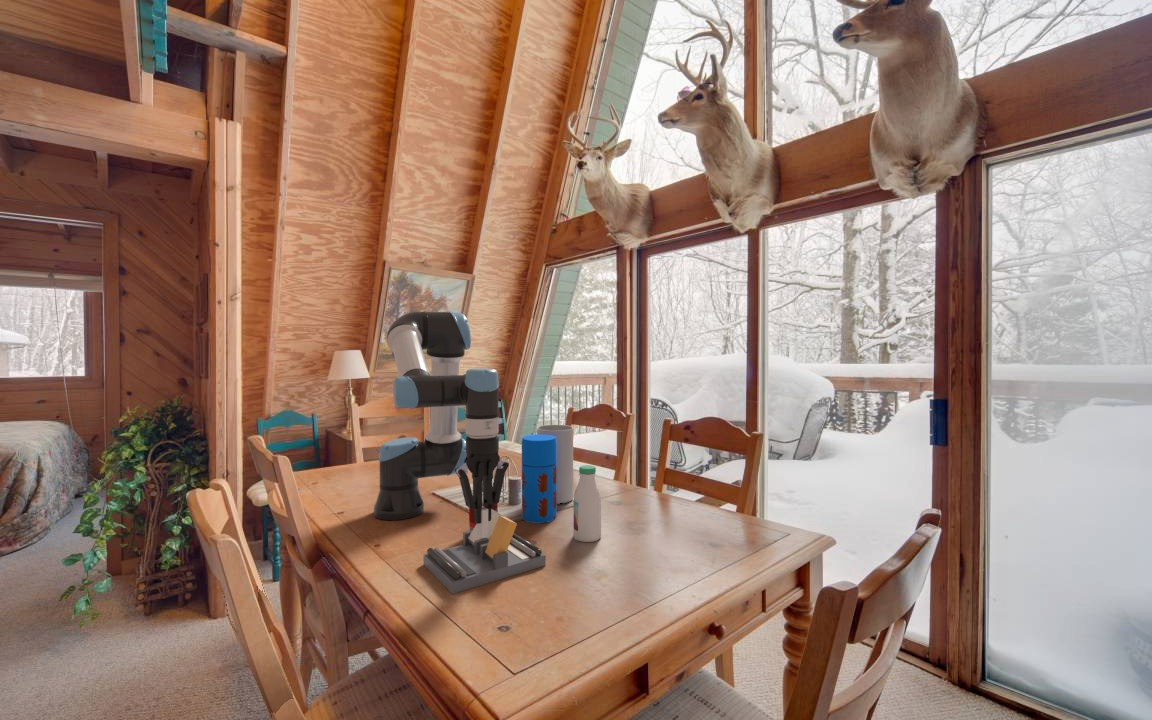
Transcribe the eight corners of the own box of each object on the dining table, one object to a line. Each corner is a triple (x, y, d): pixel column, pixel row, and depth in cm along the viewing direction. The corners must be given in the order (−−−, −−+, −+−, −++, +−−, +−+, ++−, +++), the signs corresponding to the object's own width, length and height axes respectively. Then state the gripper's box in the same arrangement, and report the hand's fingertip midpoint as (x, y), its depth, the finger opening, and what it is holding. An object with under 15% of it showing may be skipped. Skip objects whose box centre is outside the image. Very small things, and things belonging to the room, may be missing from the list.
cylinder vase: (541, 493, 184) (541, 424, 183) (575, 494, 182) (575, 425, 181) (533, 504, 171) (533, 430, 170) (570, 505, 170) (570, 431, 169)
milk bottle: (605, 535, 144) (605, 465, 143) (594, 544, 137) (594, 471, 136) (580, 530, 147) (580, 462, 147) (568, 540, 140) (568, 468, 140)
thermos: (561, 513, 162) (561, 435, 161) (549, 524, 152) (548, 441, 151) (530, 509, 166) (530, 433, 165) (516, 520, 155) (515, 439, 155)
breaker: (466, 540, 130) (487, 506, 133) (473, 544, 131) (494, 510, 134) (474, 547, 126) (496, 511, 129) (481, 551, 127) (503, 515, 130)
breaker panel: (423, 564, 125) (423, 541, 125) (509, 541, 139) (509, 521, 139) (452, 594, 110) (452, 568, 110) (545, 565, 124) (545, 542, 124)
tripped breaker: (483, 555, 122) (499, 515, 124) (491, 557, 123) (507, 517, 125) (493, 562, 118) (509, 521, 120) (501, 564, 119) (517, 523, 121)
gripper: (462, 441, 111) (463, 547, 112) (514, 434, 119) (515, 534, 120) (449, 436, 117) (449, 537, 118) (499, 430, 125) (500, 525, 126)
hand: (482, 535), depth 119 cm, fingers closed
